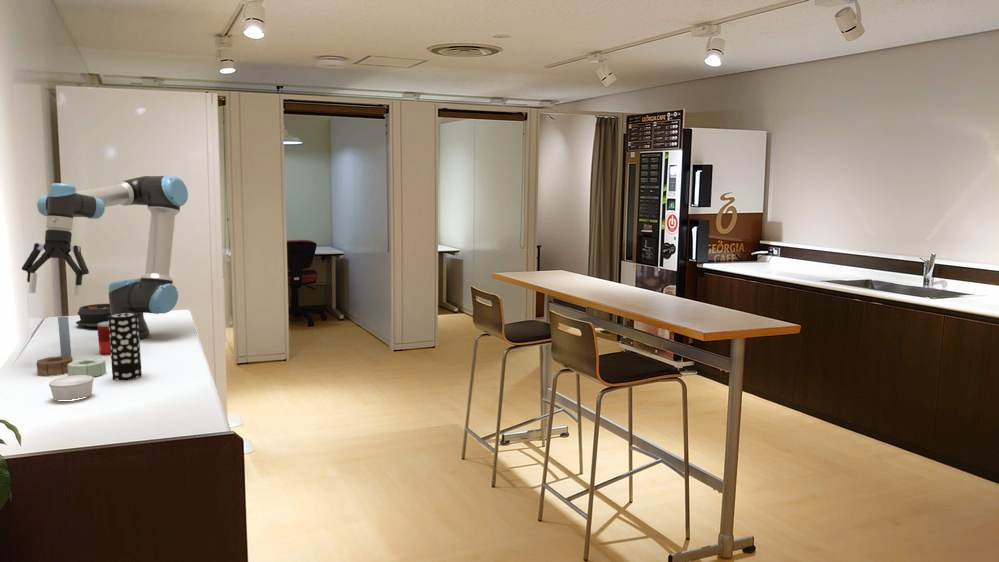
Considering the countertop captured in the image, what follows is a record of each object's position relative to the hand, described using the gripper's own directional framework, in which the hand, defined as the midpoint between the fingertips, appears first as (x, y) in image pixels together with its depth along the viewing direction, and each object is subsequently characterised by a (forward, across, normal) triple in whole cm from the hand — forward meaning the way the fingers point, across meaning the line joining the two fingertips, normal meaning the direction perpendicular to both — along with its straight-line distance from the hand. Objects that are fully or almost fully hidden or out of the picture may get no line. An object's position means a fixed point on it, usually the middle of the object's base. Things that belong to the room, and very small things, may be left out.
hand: (53, 294), depth 247 cm
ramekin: (+30, +24, -32) cm, 50 cm away
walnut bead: (+25, +4, -2) cm, 26 cm away
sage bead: (+25, +16, -6) cm, 30 cm away
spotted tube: (+25, +30, -10) cm, 41 cm away
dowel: (+23, +1, +10) cm, 25 cm away
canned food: (+20, +10, +25) cm, 33 cm away
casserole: (+12, -19, +78) cm, 81 cm away
